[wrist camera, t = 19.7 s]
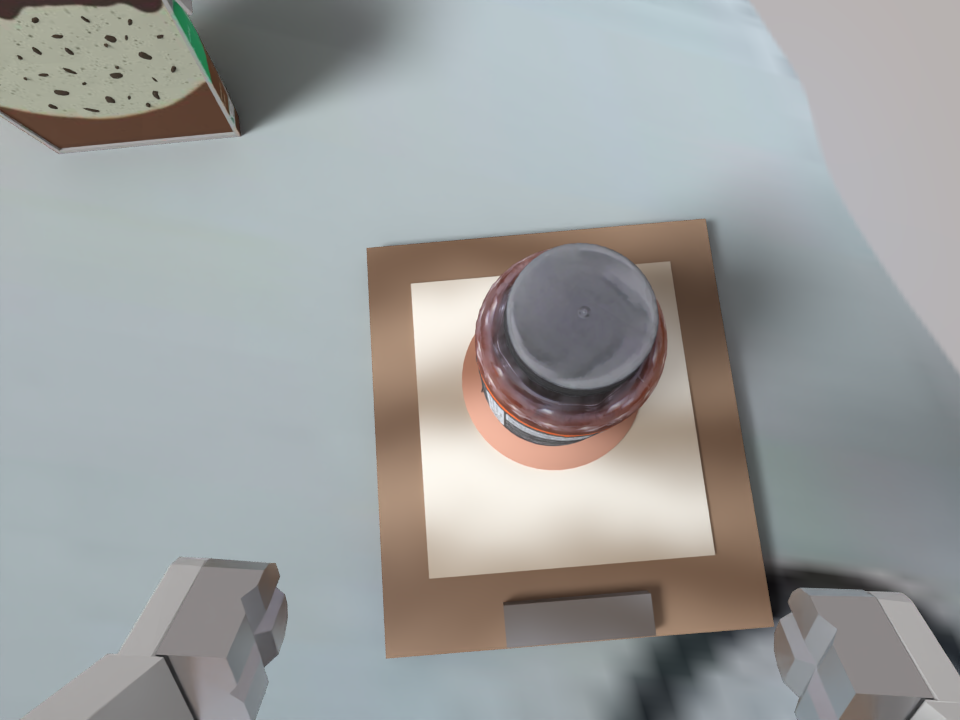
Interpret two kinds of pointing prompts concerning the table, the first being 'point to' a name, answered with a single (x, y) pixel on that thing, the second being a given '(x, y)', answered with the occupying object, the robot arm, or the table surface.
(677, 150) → the table surface
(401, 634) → the clipboard
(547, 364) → the supplement bottle
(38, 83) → the food container
